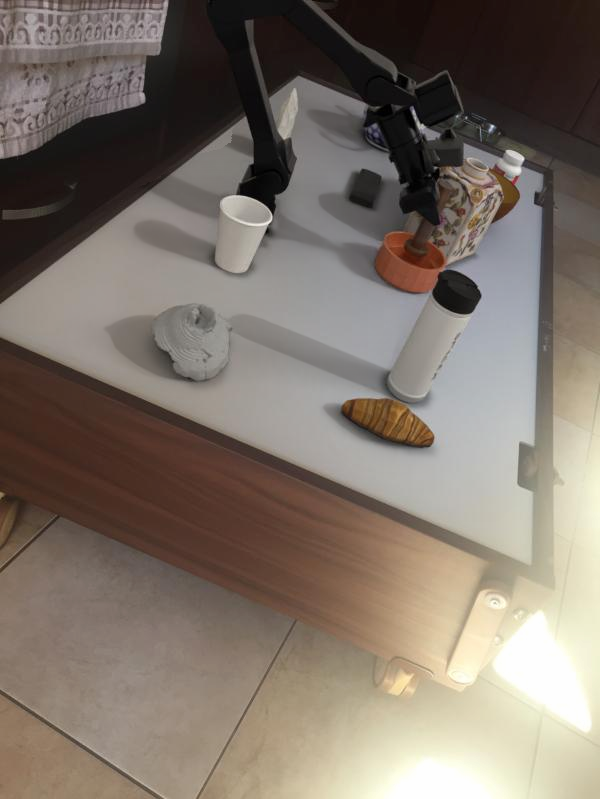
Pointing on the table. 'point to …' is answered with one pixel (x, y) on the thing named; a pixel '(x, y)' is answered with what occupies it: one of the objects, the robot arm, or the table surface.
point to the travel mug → (433, 336)
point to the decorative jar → (463, 209)
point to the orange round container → (408, 264)
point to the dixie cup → (240, 232)
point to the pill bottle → (510, 165)
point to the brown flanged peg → (427, 225)
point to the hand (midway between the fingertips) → (437, 221)
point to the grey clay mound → (193, 339)
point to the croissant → (389, 420)
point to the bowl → (505, 196)
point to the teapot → (375, 135)
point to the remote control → (366, 187)
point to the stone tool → (287, 115)
